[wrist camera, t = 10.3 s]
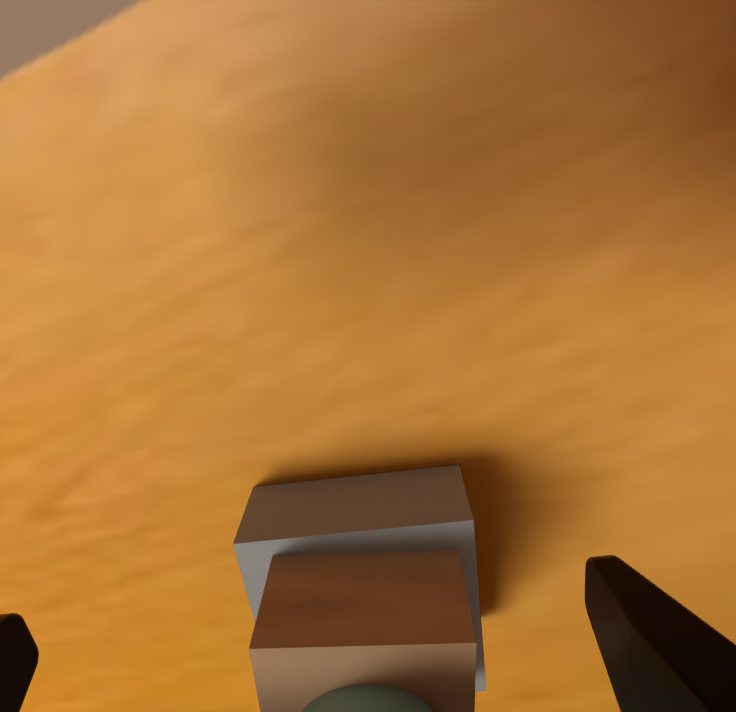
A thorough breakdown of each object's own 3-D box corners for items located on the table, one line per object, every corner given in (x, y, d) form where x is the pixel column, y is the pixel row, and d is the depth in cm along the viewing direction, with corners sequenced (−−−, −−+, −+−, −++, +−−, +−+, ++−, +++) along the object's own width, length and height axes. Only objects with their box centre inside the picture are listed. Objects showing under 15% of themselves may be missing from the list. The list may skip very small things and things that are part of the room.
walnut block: (455, 681, 23) (472, 787, 19) (291, 685, 23) (275, 790, 19) (458, 550, 20) (476, 642, 16) (272, 556, 20) (248, 648, 17)
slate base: (470, 613, 27) (486, 690, 23) (292, 630, 27) (279, 707, 23) (457, 459, 23) (473, 520, 20) (255, 481, 24) (233, 543, 20)
